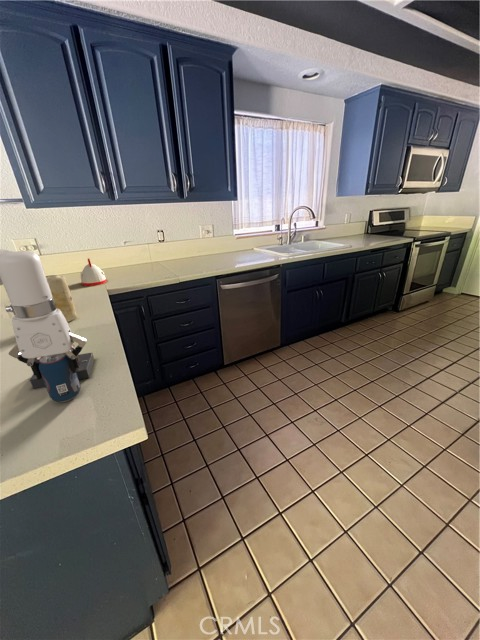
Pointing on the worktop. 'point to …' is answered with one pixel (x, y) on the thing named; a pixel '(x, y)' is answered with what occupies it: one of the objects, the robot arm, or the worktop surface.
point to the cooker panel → (82, 372)
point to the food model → (62, 296)
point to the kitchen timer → (92, 275)
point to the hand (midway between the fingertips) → (58, 372)
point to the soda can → (59, 377)
